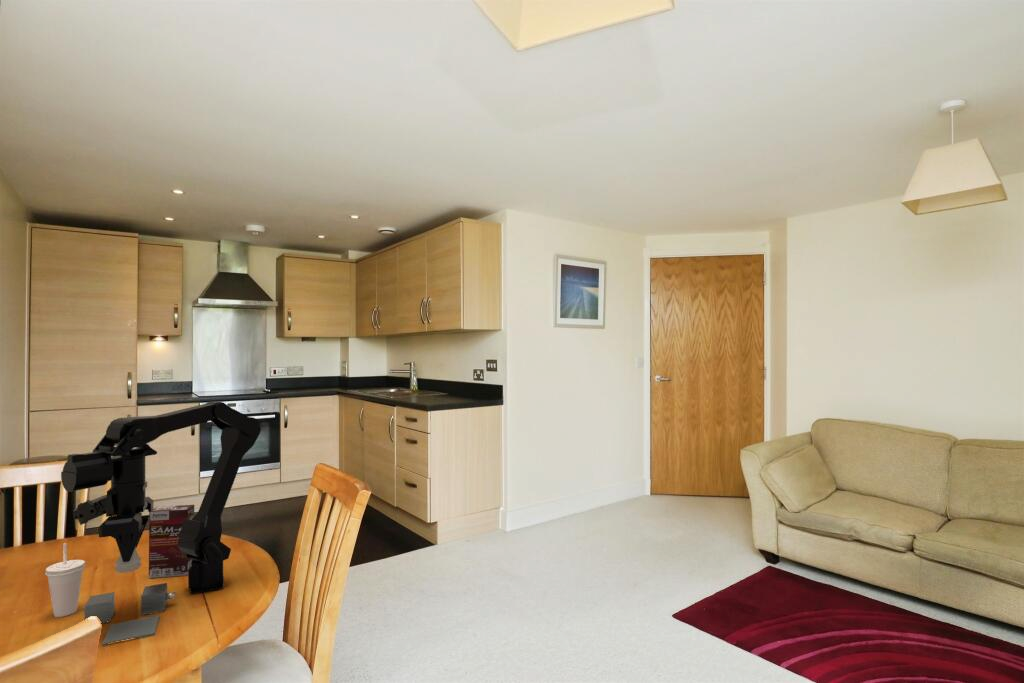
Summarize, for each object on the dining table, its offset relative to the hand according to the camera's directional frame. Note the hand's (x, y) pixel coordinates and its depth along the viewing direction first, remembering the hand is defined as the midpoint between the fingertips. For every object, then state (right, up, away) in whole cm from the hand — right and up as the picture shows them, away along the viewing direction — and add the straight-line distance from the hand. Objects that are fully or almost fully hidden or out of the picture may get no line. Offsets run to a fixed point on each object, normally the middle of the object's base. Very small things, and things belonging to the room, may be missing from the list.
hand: (128, 558), depth 110 cm
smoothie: (-15, -12, +2) cm, 19 cm away
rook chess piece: (0, -2, 0) cm, 2 cm away
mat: (+5, -12, -6) cm, 14 cm away
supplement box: (-5, -13, +22) cm, 26 cm away
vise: (-1, -12, +1) cm, 12 cm away
